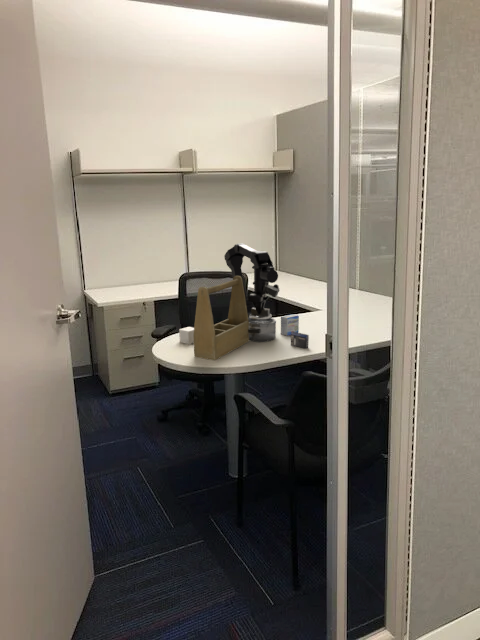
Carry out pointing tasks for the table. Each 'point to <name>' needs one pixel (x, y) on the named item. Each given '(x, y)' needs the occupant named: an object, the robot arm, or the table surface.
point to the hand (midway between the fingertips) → (260, 313)
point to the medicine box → (289, 324)
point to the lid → (263, 316)
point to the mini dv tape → (299, 340)
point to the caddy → (225, 333)
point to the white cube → (187, 335)
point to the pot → (262, 330)
